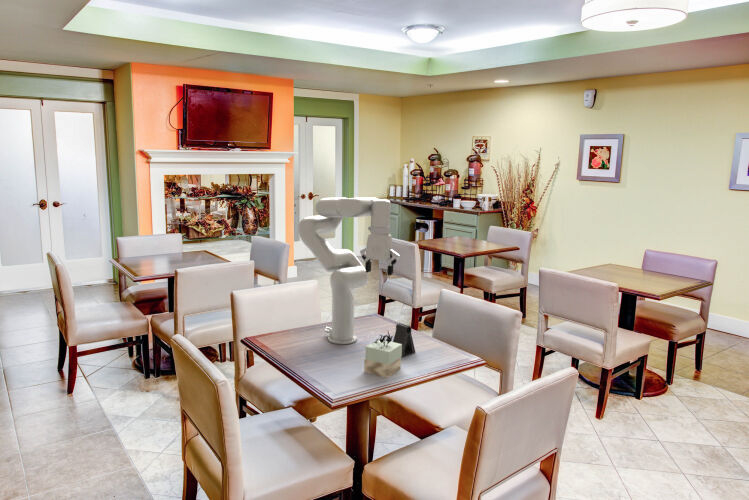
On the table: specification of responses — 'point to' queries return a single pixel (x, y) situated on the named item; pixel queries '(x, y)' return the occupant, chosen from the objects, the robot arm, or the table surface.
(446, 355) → the table surface
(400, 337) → the phone stand
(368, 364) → the tower base
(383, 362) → the tower top
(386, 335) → the creature
